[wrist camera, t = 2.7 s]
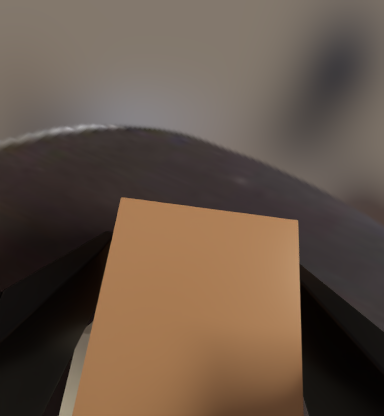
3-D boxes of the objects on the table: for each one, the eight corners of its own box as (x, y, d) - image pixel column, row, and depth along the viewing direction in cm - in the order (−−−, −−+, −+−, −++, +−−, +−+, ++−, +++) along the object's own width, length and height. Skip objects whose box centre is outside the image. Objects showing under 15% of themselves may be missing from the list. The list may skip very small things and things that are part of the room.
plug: (214, 307, 13) (304, 446, 4) (149, 300, 13) (69, 426, 4) (219, 242, 15) (298, 220, 5) (160, 234, 14) (121, 197, 5)
